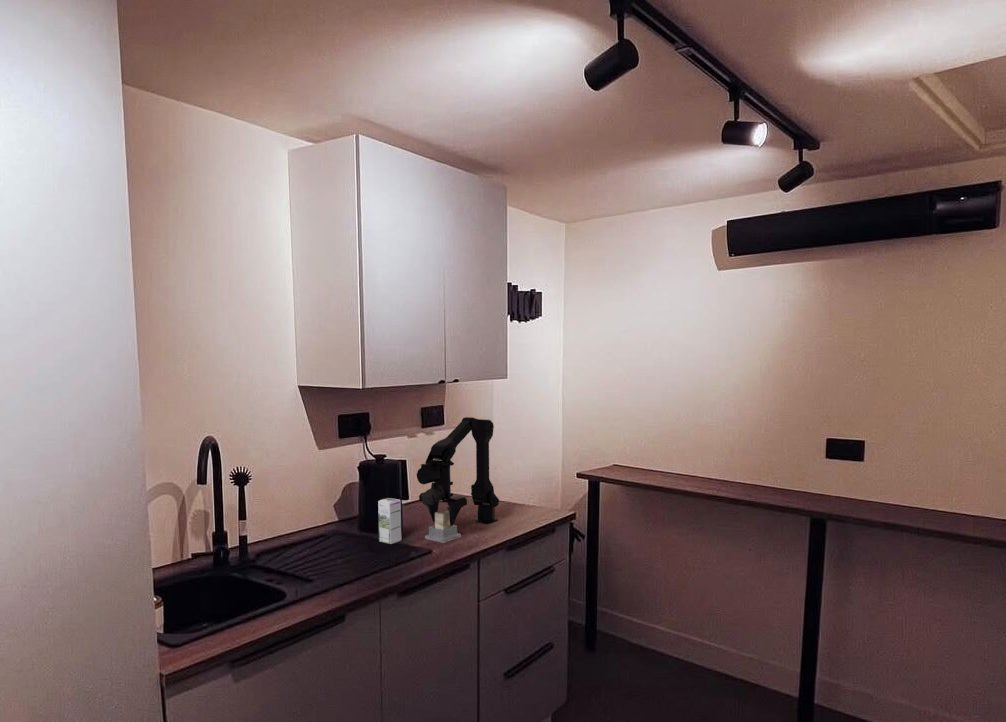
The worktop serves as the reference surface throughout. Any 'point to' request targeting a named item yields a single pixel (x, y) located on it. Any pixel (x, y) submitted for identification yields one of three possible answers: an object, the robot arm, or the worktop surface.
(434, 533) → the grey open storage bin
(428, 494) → the robot arm
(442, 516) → the beige rectangular block
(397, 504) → the syrup box
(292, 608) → the worktop surface
